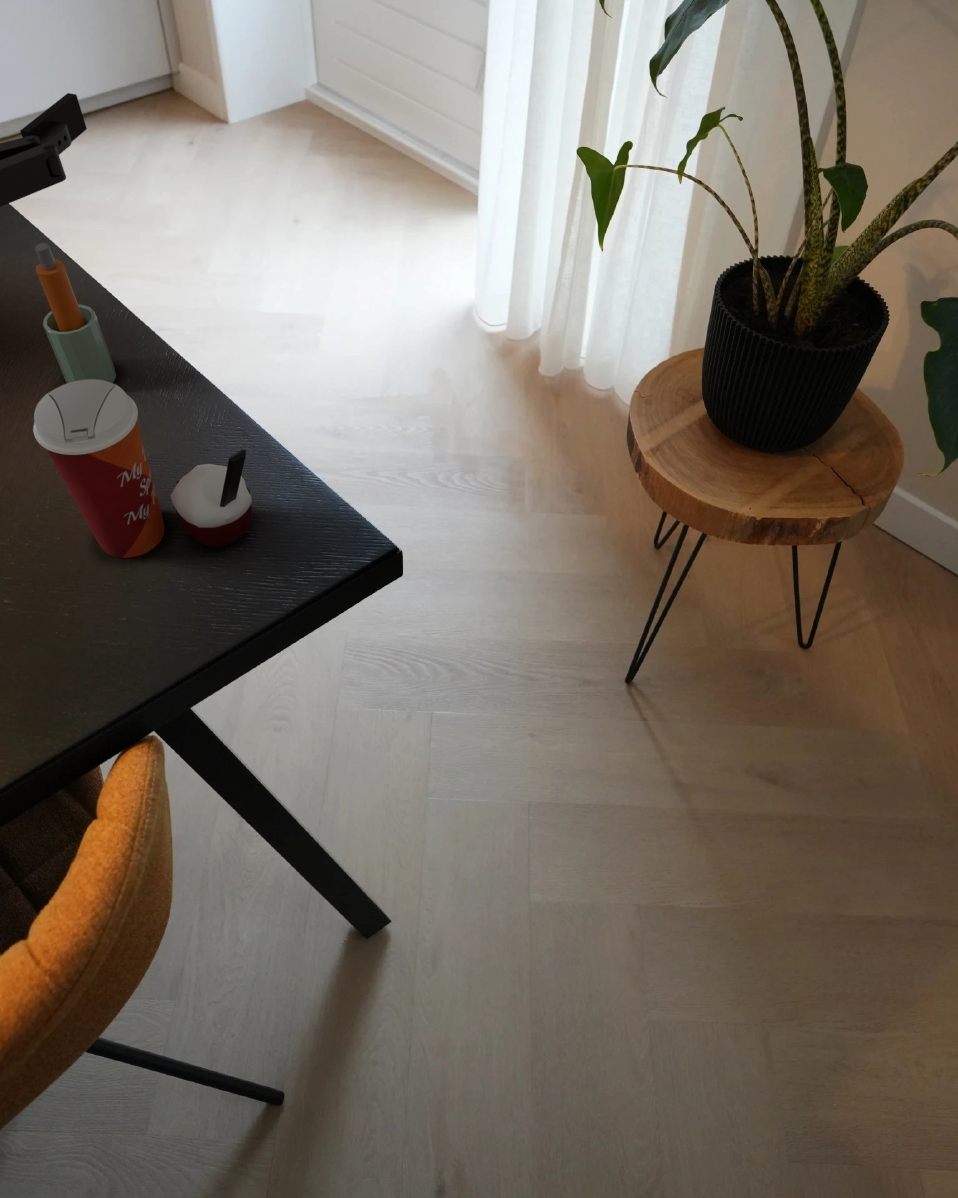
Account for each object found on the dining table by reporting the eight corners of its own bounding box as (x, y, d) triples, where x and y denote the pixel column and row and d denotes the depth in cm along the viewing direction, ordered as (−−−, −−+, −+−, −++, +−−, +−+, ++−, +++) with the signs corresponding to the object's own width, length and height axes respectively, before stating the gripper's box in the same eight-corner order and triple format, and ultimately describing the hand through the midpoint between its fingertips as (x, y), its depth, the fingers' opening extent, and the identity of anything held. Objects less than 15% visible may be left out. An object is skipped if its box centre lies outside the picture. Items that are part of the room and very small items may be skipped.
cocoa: (172, 511, 85) (135, 404, 76) (240, 488, 87) (212, 380, 77) (206, 584, 80) (170, 479, 70) (277, 558, 82) (252, 452, 72)
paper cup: (178, 559, 81) (132, 432, 71) (84, 574, 80) (23, 447, 69) (176, 495, 86) (133, 367, 75) (87, 508, 85) (31, 380, 74)
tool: (73, 380, 95) (22, 252, 85) (85, 365, 97) (36, 237, 86) (96, 384, 95) (47, 255, 84) (107, 369, 97) (60, 240, 86)
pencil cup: (58, 390, 95) (33, 330, 90) (81, 360, 98) (58, 301, 93) (102, 397, 95) (80, 337, 89) (124, 367, 98) (103, 307, 92)
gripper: (-298, 254, 70) (-107, 123, 83) (-1, 316, 66) (153, 168, 79) (-368, 152, 64) (-151, 28, 77) (-46, 213, 60) (128, 71, 73)
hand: (3, 98), depth 78 cm, fingers open, 13 cm apart
